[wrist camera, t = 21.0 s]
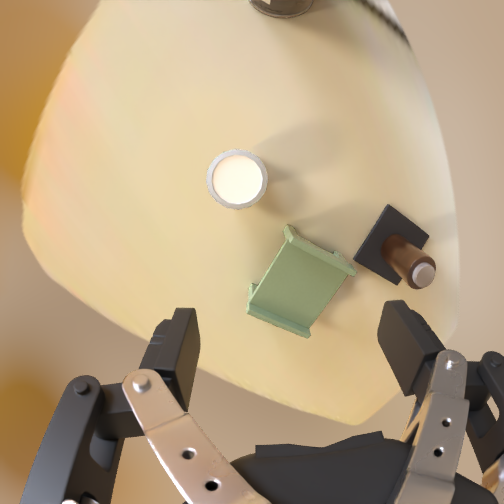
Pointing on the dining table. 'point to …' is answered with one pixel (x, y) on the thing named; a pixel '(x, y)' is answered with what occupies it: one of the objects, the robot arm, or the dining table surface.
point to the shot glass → (237, 179)
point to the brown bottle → (408, 261)
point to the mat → (382, 229)
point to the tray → (297, 284)
